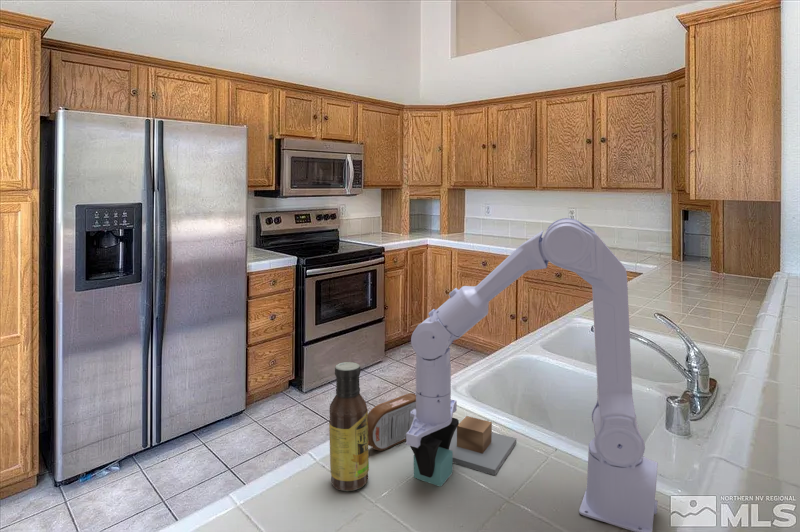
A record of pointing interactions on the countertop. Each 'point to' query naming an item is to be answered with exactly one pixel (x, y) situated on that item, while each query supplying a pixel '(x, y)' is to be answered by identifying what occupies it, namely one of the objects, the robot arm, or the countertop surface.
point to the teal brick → (437, 468)
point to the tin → (390, 422)
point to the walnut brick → (474, 434)
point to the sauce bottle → (348, 431)
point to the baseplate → (487, 460)
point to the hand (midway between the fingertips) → (433, 467)
